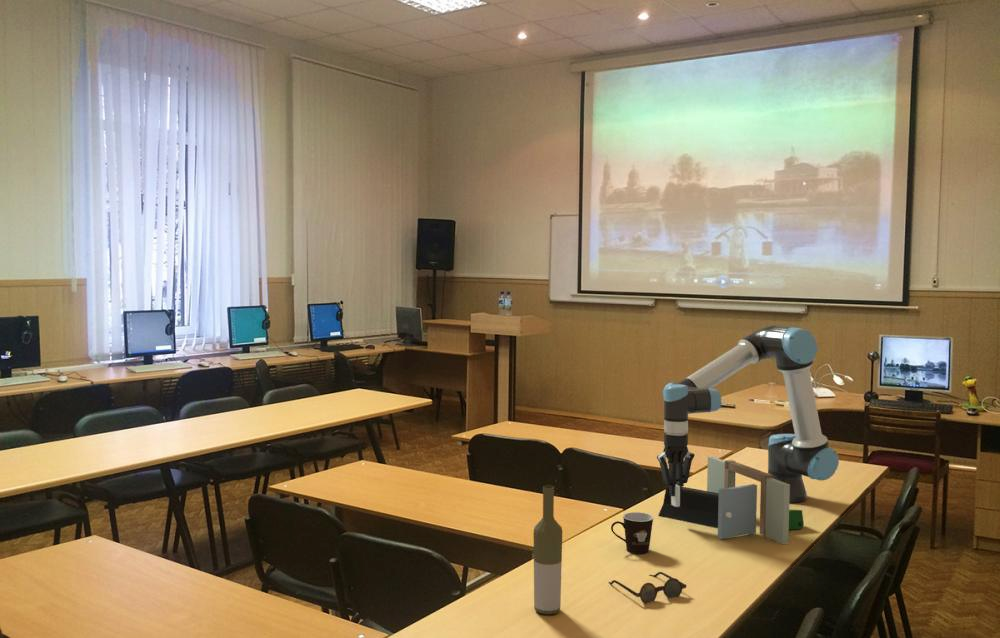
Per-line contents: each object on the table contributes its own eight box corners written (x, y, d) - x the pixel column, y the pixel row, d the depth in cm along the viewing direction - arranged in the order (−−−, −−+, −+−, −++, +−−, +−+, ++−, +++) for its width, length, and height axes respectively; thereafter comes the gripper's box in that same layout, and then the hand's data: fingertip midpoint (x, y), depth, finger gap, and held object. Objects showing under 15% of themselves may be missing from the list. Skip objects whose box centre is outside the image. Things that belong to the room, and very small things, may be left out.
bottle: (528, 614, 179) (529, 488, 177) (537, 602, 185) (538, 481, 184) (557, 619, 176) (558, 492, 175) (565, 607, 183) (566, 484, 181)
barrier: (736, 524, 246) (736, 493, 246) (726, 531, 239) (727, 500, 239) (668, 510, 261) (669, 481, 260) (657, 516, 254) (658, 487, 253)
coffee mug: (654, 547, 224) (655, 514, 223) (650, 557, 216) (651, 522, 215) (615, 542, 228) (615, 509, 227) (610, 552, 219) (610, 518, 219)
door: (752, 531, 237) (753, 484, 236) (759, 534, 234) (760, 486, 233) (717, 537, 231) (718, 489, 230) (724, 540, 228) (725, 491, 227)
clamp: (789, 538, 245) (795, 511, 248) (800, 540, 239) (806, 512, 242) (756, 525, 244) (763, 498, 246) (767, 526, 238) (774, 499, 240)
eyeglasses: (637, 606, 184) (637, 586, 184) (605, 584, 198) (605, 565, 197) (686, 597, 190) (686, 577, 190) (651, 575, 204) (652, 557, 203)
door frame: (712, 507, 263) (713, 453, 262) (789, 543, 228) (790, 481, 227) (705, 508, 262) (706, 454, 261) (781, 544, 227) (783, 482, 226)
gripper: (686, 429, 248) (686, 499, 250) (651, 432, 244) (651, 504, 245) (700, 433, 241) (699, 506, 243) (664, 437, 237) (664, 511, 238)
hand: (675, 505), depth 244 cm, fingers closed
